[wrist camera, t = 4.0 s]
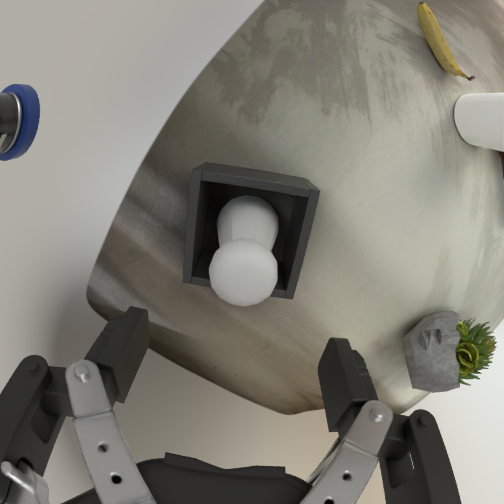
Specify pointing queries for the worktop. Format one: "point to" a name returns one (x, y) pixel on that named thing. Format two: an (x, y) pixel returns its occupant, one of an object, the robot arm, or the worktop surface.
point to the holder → (302, 188)
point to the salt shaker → (245, 251)
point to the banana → (438, 41)
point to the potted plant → (446, 351)
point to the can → (481, 119)
